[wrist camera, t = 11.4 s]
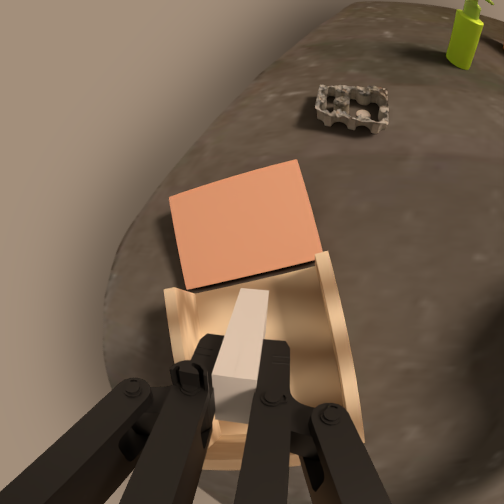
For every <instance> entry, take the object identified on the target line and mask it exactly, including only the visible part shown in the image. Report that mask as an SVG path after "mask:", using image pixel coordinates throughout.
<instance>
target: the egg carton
mask: <svg viewBox="0 0 504 504" xmlns="http://www.w3.org/2000/svg"><path fill="white" fill-rule="evenodd" d="M328 96H334V97H335V98H336V99H335V100H334V110H333V112H332V113H330V112H329V111H328V110H327V98H328ZM350 99H355V100H356V101H357V102H358V103H359V104H361V105H369V104H370V103H371V102H372V103H376V104H377V105H378V106H379V107H380V108H379V113H378V120H379V121H380V122H375V121H374V120H371V119H370V118H371V115H370V113H369V112H368V111H366V110H358V111H357V112H356V116H357V119H356V118H354V117H351V116H350V115H348V114H349V104H350ZM315 108H316V109H317V119H320V120H322V121H323V122H324V125H325V126H332V124H333V123H335V122H343V123H345V124H346V125H347V128H348V129H352V130H355V128H356V127H357V126H360V125H363V126H366V127H368V128H369V129H370V131H371V133H374V134H378V132H379V131H380V130H383V129H385V128H386V125H387V124H388V113H389V107H388V95H387V89H385V88H381V87H375V86H367V87H366V88H363V87H360V86H356V87H351V86H345V85H337V86H329V87H327V86H326V85H320V86H319V91H318V95H317V99H316V105H315ZM349 117H351V118H349Z"/></svg>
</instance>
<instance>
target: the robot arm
mask: <svg viewBox="0 0 504 504" xmlns="http://www.w3.org/2000/svg"><path fill="white" fill-rule="evenodd" d="M268 297H269V290H258V289H246V288H241V289H240V292H239V295H238V298H237V301H236V304H235V307H234V310H233V313H232V316H231V318H230V321H229V324H228V327H227V330H226V333H225V336H224V335H216V334H209V333H207V334H206V335H205V336H203V337H202V338H201V339H200V340H199V342H198V345H197V347H196V349H195V351H194V355H193V356H192V358H191V360H184V361H179V362H177V363H175V364H173V366H172V367H171V368H170V374H171V379H172V383H173V385H171V386H167V387H150V386H149V384H148V383H147V382H146V381H145V380H143V379H140V378H129V379H125V380H124V381H122V382H120V383H119V384H118V385H117V386H116V387H115V388H114V389H113V390H112V391H111V392H109V393H108V394H107V395H106V396H105V397H104V398H103V399H102V400H101V401H100V402H99V403H98V404H96V405H95V407H93V408H92V409H91V410H90V411H89V412H88V413H87V414H85V415H84V416H83V417H82V418H81V419H80V420H79V421H78V422H77V423H76V424H75V425H73V426H72V427H71V428H70V429H69V430H68V431H67V432H66V433H65V434H64V435H63V436H62V437H60V438H59V439H58V440H57V441H56V442H55V443H54V444H53V445H52V446H51V447H49V448H48V449H47V450H46V451H45V452H44V453H43V454H42V455H40V456H39V457H38V458H37V459H36V460H35V461H34V462H33V463H32V464H31V465H30V466H28V467H27V468H26V469H25V470H24V471H23V472H22V473H21V474H20V475H18V476H17V477H16V478H15V479H14V480H13V481H12V482H10V483H9V484H8V485H7V486H6V487H5V488H4V489H3V490H2V491H1V492H0V504H104V503H105V502H106V501H107V500H108V499H109V497H110V496H111V495H112V494H113V493H114V492H115V491H116V489H117V488H118V487H119V486H120V485H121V484H122V482H123V481H124V480H125V479H126V478H127V477H128V475H129V474H130V473H131V472H132V471H133V470H134V471H133V473H132V475H131V478H130V480H129V482H128V484H127V487H126V489H125V491H124V494H123V496H122V498H121V500H120V503H119V504H192V503H193V500H194V496H195V493H196V489H197V485H198V482H199V478H200V475H201V471H202V467H203V464H204V460H205V457H206V453H207V449H208V446H209V442H210V438H211V435H212V431H213V424H212V422H213V418H214V415H215V419H216V420H222V421H229V422H236V423H244V424H248V429H247V435H246V441H245V446H244V452H243V458H242V463H241V469H240V474H239V480H238V485H237V490H236V495H235V501H234V504H287V494H288V478H289V460H290V453H293V454H296V455H298V456H299V459H300V463H301V466H302V469H303V473H304V476H305V480H306V483H307V486H308V490H309V493H310V497H311V500H312V503H313V504H391V501H390V499H389V497H388V495H387V493H386V491H385V488H384V486H383V484H382V482H381V480H380V478H379V476H378V473H377V471H376V469H375V467H374V465H373V463H372V461H371V459H370V456H369V454H368V452H367V450H366V448H365V446H364V444H363V442H362V440H361V438H360V436H359V433H358V431H357V429H356V427H355V425H354V423H353V421H352V419H351V417H350V415H349V413H348V412H347V410H346V409H345V408H344V407H342V406H341V405H339V404H335V403H323V404H320V405H318V406H317V407H315V408H313V407H310V406H307V405H304V404H301V403H299V402H298V401H296V400H295V399H294V398H293V397H292V395H291V393H290V347H289V346H288V344H287V342H286V341H281V340H269V339H265V333H266V322H267V310H268ZM134 468H135V469H134Z"/></svg>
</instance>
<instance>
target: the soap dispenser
mask: <svg viewBox="0 0 504 504" xmlns="http://www.w3.org/2000/svg"><path fill="white" fill-rule="evenodd" d="M486 1H487V2H488V3H490V4H491V5H494V3H493V2H492V1H491V0H486ZM480 11H481V8H480V7H479V5H478V0H465V4H464V9H463V10H459V9H458V10H457V12H456V17H455V21H454V26H453V30H452V34H451V38H450V42H449V46H448V50H447V53H446V57H447V59H448V60H449V61H450V62H451V63H452V64H454V65H455V66H457V67H459V68H461V69H464V70H468V69H469V68H470V65H471V62H472V59H473V57H474V54H475V51H476V48H477V45H478V42H479V38H480V35H481V32H482V28H483V23H482V21H480V20H479V15H480Z"/></svg>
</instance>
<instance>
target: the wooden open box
mask: <svg viewBox="0 0 504 504" xmlns="http://www.w3.org/2000/svg"><path fill="white" fill-rule="evenodd" d="M241 288H246V289H258V290H269V297H268V310H267V322H266V333H265V339H269V340H281V341H286V342H287V344H288V346H289V347H290V393H291V395H292V397H293V398H294V399H295V400H296V401H298V402H299V403H301V404H304V405H307V406H310V407H313V408H315V407H317V406H318V405H320V404H323V403H335V404H339V405H341V406H342V407H344V408H345V409H346V410H347V412H348V413H349V415H350V417H351V419H352V421H353V423H354V425H355V427H356V429H357V431H358V433H359V436H360V438H361V440H362V442H363V443H365V440H364V431H363V423H362V415H361V408H360V401H359V394H358V388H357V382H356V376H355V370H354V364H353V359H352V354H351V348H350V343H349V338H348V333H347V329H346V324H345V319H344V315H343V310H342V306H341V301H340V297H339V293H338V289H337V284H336V280H335V276H334V272H333V269H332V265H331V261H330V257H329V253H328V251H325V252H321V253H317V254H315V266H314V267H310V268H306V269H302V270H298V271H293V272H289V273H285V274H281V275H277V276H272V277H268V278H264V279H260V280H255V281H251V282H247V283H242V284H238V285H233V286H229V287H224V288H220V289H215V290H210V291H206V292H201V293H197V294H194V293H191V292H188V291H185V290H181V289H178V288H175V287H173V288H169V289H164V295H165V303H166V311H167V319H168V326H169V333H170V339H171V346H172V352H173V358H174V363H177V362H179V361H184V360H191V358H192V356H193V355H194V351H195V349H196V347H197V345H198V342H199V340H200V339H201V338H202V337H203V336H205V335H206V334H207V333H209V334H216V335H224V336H225V333H226V330H227V327H228V324H229V321H230V318H231V316H232V313H233V310H234V307H235V304H236V301H237V298H238V295H239V292H240V289H241ZM212 424H213V431H212V435H211V438H210V442H209V446H208V449H207V453H206V457H205V460H204V464H203V467H202V469H203V470H240V469H241V463H242V458H243V452H244V446H245V441H246V435H247V429H248V424H244V423H236V422H229V421H222V420H216V419H215V415H214V418H213V422H212ZM299 465H301V463H300V459H299V456H298V455H296V454H293V453H290V460H289V467H291V466H299Z"/></svg>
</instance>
